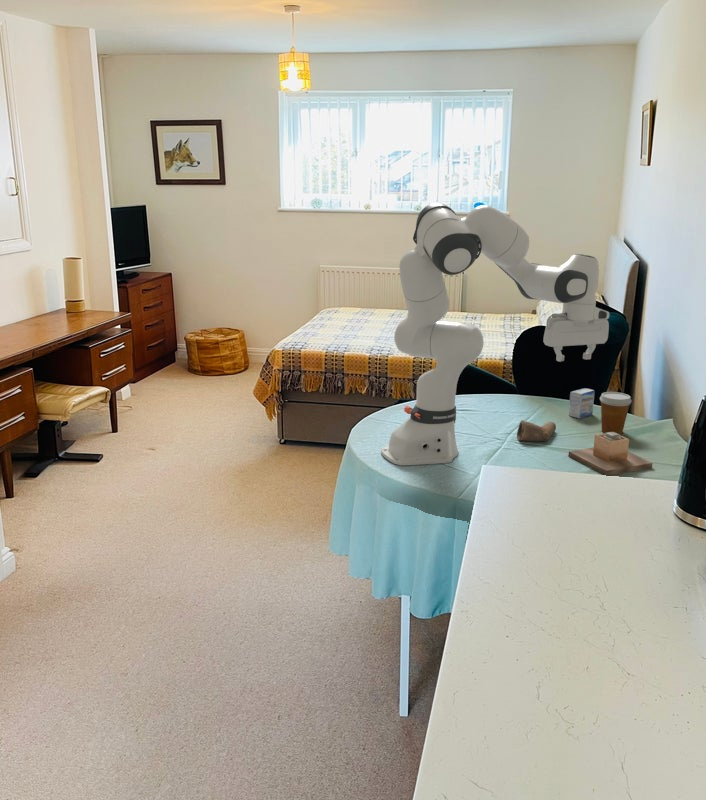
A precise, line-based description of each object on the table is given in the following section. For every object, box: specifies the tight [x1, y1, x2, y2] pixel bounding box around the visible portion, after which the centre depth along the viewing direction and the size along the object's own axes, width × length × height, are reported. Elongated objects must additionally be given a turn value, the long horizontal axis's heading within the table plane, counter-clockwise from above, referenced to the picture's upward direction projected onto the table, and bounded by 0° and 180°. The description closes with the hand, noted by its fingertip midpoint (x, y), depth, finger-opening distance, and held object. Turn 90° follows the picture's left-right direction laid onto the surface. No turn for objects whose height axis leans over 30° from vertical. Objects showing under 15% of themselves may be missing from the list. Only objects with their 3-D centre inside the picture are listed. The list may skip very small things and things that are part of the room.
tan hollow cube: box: [593, 432, 630, 462], centre depth 209 cm, size 6×6×6 cm
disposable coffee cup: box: [599, 391, 632, 435], centre depth 234 cm, size 10×10×12 cm
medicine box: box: [568, 387, 595, 419], centre depth 251 cm, size 8×4×9 cm, turn 129°
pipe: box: [516, 420, 557, 442], centre depth 230 cm, size 6×17×10 cm
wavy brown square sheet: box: [567, 432, 653, 476], centre depth 209 cm, size 16×16×8 cm
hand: (573, 360), depth 213 cm, fingers open, 8 cm apart
